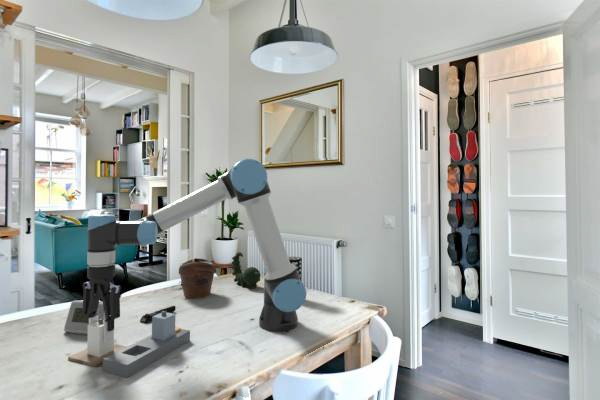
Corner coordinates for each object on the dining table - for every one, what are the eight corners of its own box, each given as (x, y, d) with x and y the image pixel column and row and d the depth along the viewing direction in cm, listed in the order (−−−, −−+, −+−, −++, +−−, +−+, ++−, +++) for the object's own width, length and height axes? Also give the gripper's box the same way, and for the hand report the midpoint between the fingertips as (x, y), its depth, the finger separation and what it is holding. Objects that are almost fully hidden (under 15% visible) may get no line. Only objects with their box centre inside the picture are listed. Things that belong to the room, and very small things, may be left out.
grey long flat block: (189, 340, 117) (190, 328, 117) (127, 377, 93) (127, 362, 93) (168, 336, 121) (169, 324, 121) (102, 371, 96) (103, 356, 96)
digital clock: (61, 332, 122) (61, 303, 122) (85, 324, 131) (85, 296, 131) (93, 340, 116) (93, 309, 116) (116, 331, 125) (116, 301, 125)
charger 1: (113, 350, 108) (113, 317, 108) (99, 357, 103) (99, 323, 103) (101, 347, 109) (102, 315, 109) (87, 354, 105) (87, 320, 105)
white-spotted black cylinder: (304, 298, 168) (305, 257, 168) (295, 303, 161) (295, 260, 161) (290, 295, 172) (290, 256, 172) (280, 299, 165) (281, 258, 165)
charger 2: (175, 341, 113) (175, 310, 113) (164, 347, 109) (164, 315, 109) (163, 338, 115) (163, 308, 115) (151, 344, 111) (152, 312, 110)
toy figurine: (228, 285, 196) (253, 291, 177) (227, 252, 197) (251, 254, 178) (242, 283, 202) (267, 288, 184) (241, 250, 203) (266, 252, 185)
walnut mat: (131, 350, 110) (131, 347, 110) (97, 367, 98) (97, 364, 98) (103, 343, 114) (103, 341, 114) (68, 359, 103) (68, 356, 103)
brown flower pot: (198, 287, 185) (199, 254, 185) (224, 294, 174) (224, 258, 173) (169, 295, 171) (169, 259, 170) (194, 303, 159) (194, 264, 159)
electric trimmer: (177, 313, 145) (177, 305, 146) (145, 324, 132) (145, 316, 132) (171, 311, 147) (171, 304, 147) (139, 322, 134) (139, 314, 134)
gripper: (134, 264, 106) (133, 339, 106) (91, 260, 113) (90, 330, 113) (113, 269, 99) (112, 349, 99) (68, 264, 106) (68, 339, 106)
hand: (100, 339), depth 106 cm, fingers open, 6 cm apart
